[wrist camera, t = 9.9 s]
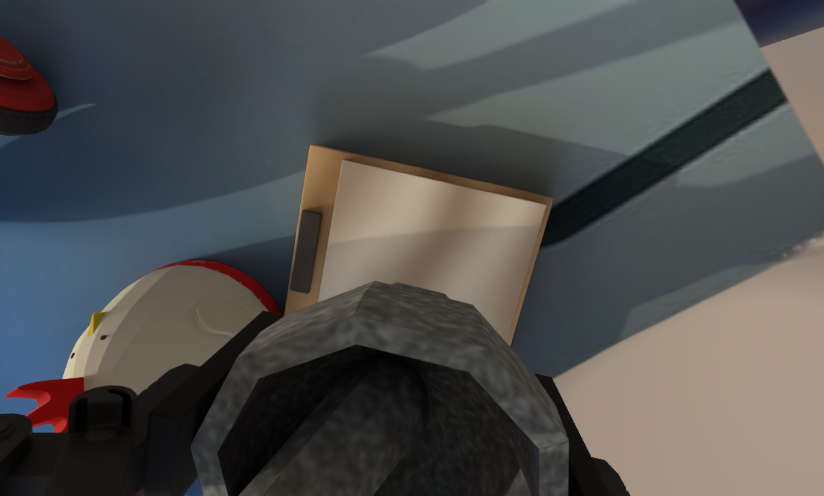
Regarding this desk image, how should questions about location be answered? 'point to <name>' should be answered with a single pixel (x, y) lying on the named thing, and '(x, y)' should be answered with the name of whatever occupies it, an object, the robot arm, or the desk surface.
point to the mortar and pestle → (382, 406)
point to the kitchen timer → (152, 333)
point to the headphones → (23, 95)
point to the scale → (414, 234)
